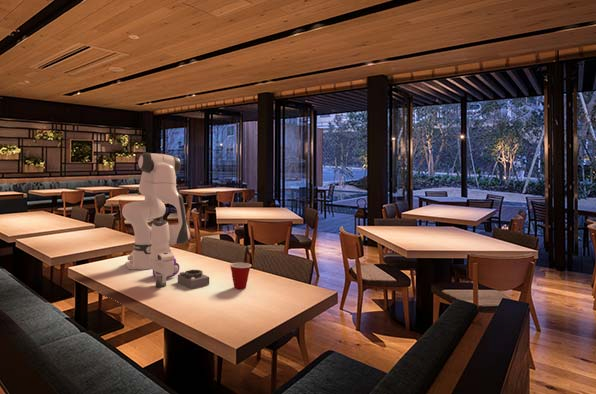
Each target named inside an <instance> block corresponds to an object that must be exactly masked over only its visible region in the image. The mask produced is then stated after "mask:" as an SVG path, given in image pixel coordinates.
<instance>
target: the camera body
mask: <svg viewBox="0 0 596 394" xmlns="http://www.w3.org/2000/svg"><path fill="white" fill-rule="evenodd" d="M203 273H204V272H203V270H201V269H188V270H185V272H184V271H182V272H179V273H178V274H177V283H178V284H181V285H183V286H185V287H187V288H189V289H191V290H192V289H197V288H201V287H205V286H210V276H209V275H205V274H203Z"/></svg>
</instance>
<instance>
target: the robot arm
mask: <svg viewBox="0 0 596 394" xmlns="http://www.w3.org/2000/svg"><path fill="white" fill-rule="evenodd" d="M137 161H138V169H139V170H140V171H141V176H140V181H139V186H138V191H139V194H141V195H142V196H143V197H144V199H143V200H141V201H140V200H139V201H132V202H128V203H126V204H124V205H123V207H122V210H121V211H122V212H121V214H122V217H123V218H124V219H125V220H126V221H128V222H129V224H130V225H131V226H132V228H133V232H134V244H133V250H132V251H131V253H130V254H129V255H128V256H127V261H126V262H124V265H125V266H126V268H127V269H128V270H139V271H141V270H152V271H153V270H154V273H155V272H158V273H160V274H162V276H163V277H162V279H161V282H162V283H165V282H166V283H167V278H168V277H167V276H170V277H172V276H171V275H173V272H174V261H173V260H172V259H174V258H175V254H174V253H173V252H172V250H171V246H170V244H171V245H172V244H173V245H174V244H176V245H184V244H186V243H187V242H188V241H189V240H190V236H191V233H190V229H189V224H188V220H187V213H186V208H185V203H184V198H183V196H182V194H180V193H179V191H178V190H177V177H176V176H177V174H178V173H179V172H180V170H181V167H182V166H181V165H182V164H181V163H182V162H181V159H180V158H179V157H177V156H176V155H175V156H174V155H168V154H164V153H151V152H143V153H142V154H140V156H139V158H138V160H137ZM165 203H166V204H169V205H172V206H173V207H175V209H176V213H177V219H178V223H177V224H169V221H167V220H165V219H163V220H161V219H160V220H155V221H153V222H152V224H151V225H149V223H148V220H154V219H159V218H161V217H163V216H165V214H166V209H167V208H166V205H165ZM173 276H174V275H173Z"/></svg>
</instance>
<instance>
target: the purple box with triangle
mask: <svg viewBox="0 0 596 394" xmlns="http://www.w3.org/2000/svg"><path fill="white" fill-rule="evenodd" d="M172 260H173V261H174V272H173V275H171V276H167V278H169V277H173V276H175V275H178V274H179V273H180V268H181V267H180V264H179V263H178V262H177V259H176V258H175V257H174V259H172ZM152 276H153V277H155V273H154V270H152Z"/></svg>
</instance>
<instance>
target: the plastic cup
mask: <svg viewBox="0 0 596 394" xmlns="http://www.w3.org/2000/svg"><path fill="white" fill-rule="evenodd" d="M229 266H230V271H231V277H232V283H233V287H234V289H235V290H245V289H246V288H247V286H248V285H247V284H248V279H249V274H250V269H251V268H252V264H251V263H247V262H231V263H229Z"/></svg>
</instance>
